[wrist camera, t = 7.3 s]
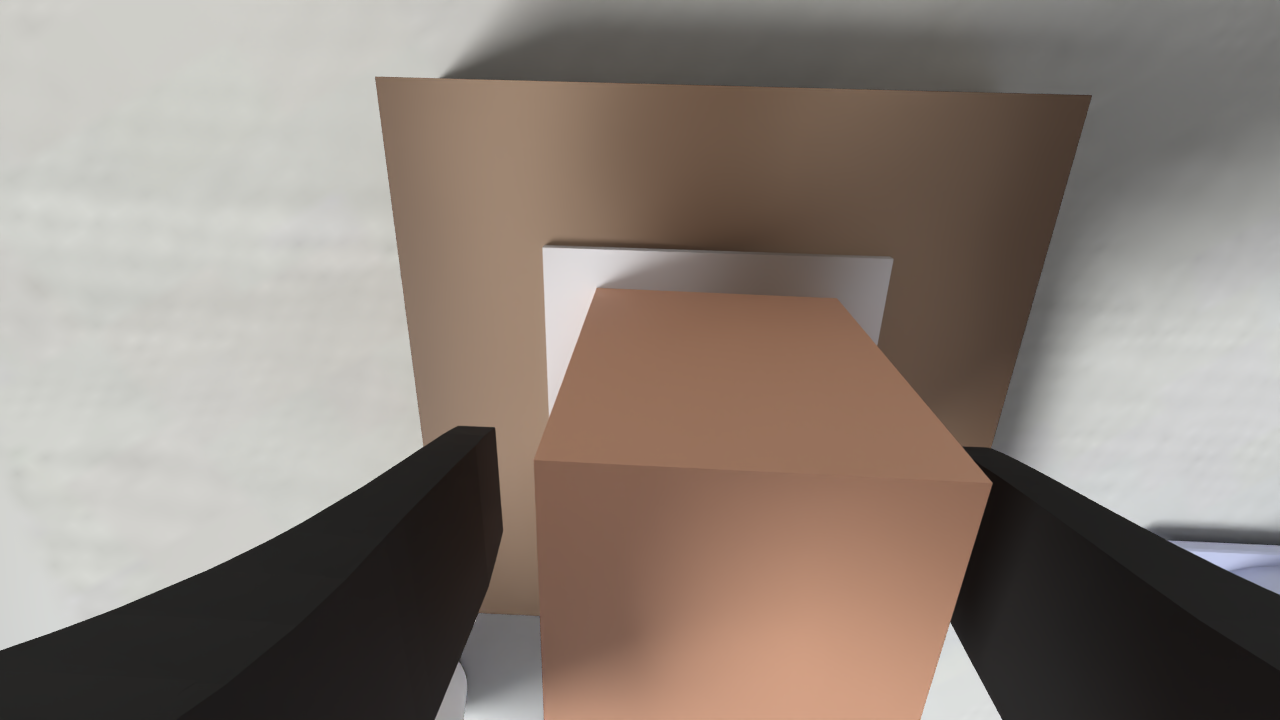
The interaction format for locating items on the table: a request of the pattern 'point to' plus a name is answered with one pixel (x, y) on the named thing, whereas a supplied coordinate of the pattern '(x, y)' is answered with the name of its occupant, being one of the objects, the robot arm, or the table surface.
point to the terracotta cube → (744, 517)
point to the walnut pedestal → (708, 236)
